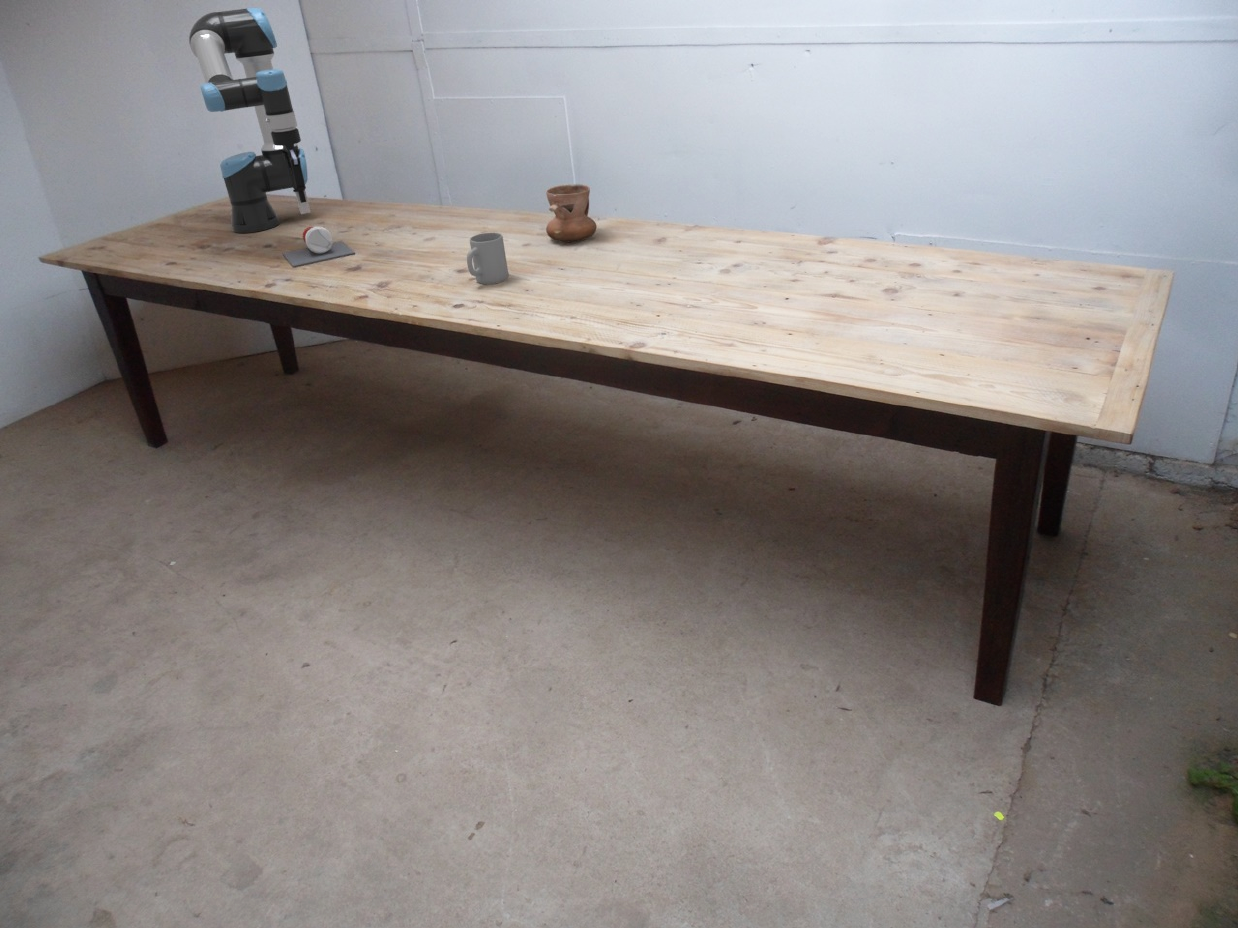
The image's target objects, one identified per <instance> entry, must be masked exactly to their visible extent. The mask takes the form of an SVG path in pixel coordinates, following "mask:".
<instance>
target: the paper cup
mask: <svg viewBox="0 0 1238 928" xmlns="http://www.w3.org/2000/svg"><path fill="white" fill-rule="evenodd" d="M302 239H303V241H304V243H305V244H306V247H307V248H309V249H310V250H311V251H313V252H315V253H325V252H327V251H328V250H329V249H330V248H331V246H332V243H334V242H333V240H334V239H333V236H332V233H331V232H330V231H329V229H327V228H325V227H322V226H308V227H306V228H305V229H304V230H303V232H302Z"/></svg>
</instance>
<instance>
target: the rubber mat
mask: <svg viewBox="0 0 1238 928" xmlns="http://www.w3.org/2000/svg"><path fill="white" fill-rule="evenodd" d="M355 254H356V252H355V251H354V250H353V249H352V248H350V247H349V246H348V245H347V244H346V242H344V241H343V240H341V241H340V240H339V241H335V242H332V246H331V248H330V249H329V250H328V251H327V252H325V253H315V252H313V251H311V250H310V249H309V248H308V247H307V248H302V249H297V250H293V251H292V250H291V251H288V252H284V253H282V255H283V257H284V258H285V259H286V260H287V262H288V263H289V264H290V266H291V267H292V268H297V267H298V266H299V267H303V266H308V265H312V264H316V263H321V262H325V261H331V260H335V259H340V258H343V257H348V256H353V255H355Z"/></svg>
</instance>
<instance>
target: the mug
mask: <svg viewBox="0 0 1238 928" xmlns="http://www.w3.org/2000/svg"><path fill="white" fill-rule="evenodd" d="M469 244H470V245H469V246H470V250H469V251H468V253H467V255H466V264H467V265H466V266H467V269H468V271H469V274H470V275H471V276H473V277H475V281H476V282H477V283H478V284H482V285H495V284H499V283H503V282H505V281H506V280H508V279H509V269H508V262H507V257H506V251H505V244H504V237H503V235H502V234H501V233H499V232H483V233H479V234H475V235H473V236H472V237H470V238H469Z"/></svg>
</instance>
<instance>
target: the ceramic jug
mask: <svg viewBox="0 0 1238 928" xmlns="http://www.w3.org/2000/svg"><path fill="white" fill-rule="evenodd" d="M590 193H591V192H590V187H589V186H588V185H587V184H586V185H585V184H580V183H567V184H560V185H556V186H552V187H550V188H547V189H546V191H545V194H546V198H547V201H548V203H549V206H550V207H549V208H548V210H549V211H550V212H551V213H553V214H554V215H555V216H554V217H553V218H552V219H551V220H550V221H549V222H548V223H547V225H546V228H545V231H546V234H547V236H548V237H549V238H550V239H552V241H553V240H554V241H556V242H560V243H561V242H562V243H575V242H580V241H583V240H586V239H589V238H590V237H592V236H593V235H594V234H595V233H596V230H597V223H596V222H595V220H594V219H593V218H591V217H590V216H589V211H590V210H589V209H590Z"/></svg>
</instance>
